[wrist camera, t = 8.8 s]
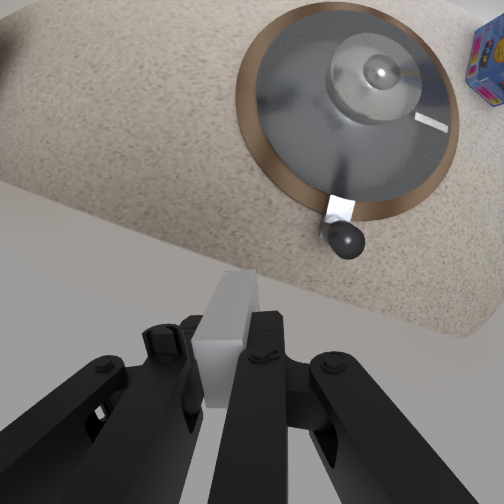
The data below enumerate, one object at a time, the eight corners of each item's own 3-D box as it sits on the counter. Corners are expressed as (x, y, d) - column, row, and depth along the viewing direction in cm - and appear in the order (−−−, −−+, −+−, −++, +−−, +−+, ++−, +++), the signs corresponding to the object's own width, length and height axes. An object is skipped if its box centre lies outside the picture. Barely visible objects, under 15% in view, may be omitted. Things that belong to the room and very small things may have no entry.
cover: (318, 111, 25) (327, 99, 20) (332, 39, 23) (342, 16, 18) (397, 136, 25) (420, 131, 20) (408, 65, 23) (429, 49, 18)
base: (214, 190, 30) (213, 190, 29) (262, -14, 24) (262, -17, 23) (432, 243, 30) (435, 244, 29) (460, 51, 23) (464, 49, 23)
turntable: (228, 218, 29) (216, 231, 23) (277, -3, 23) (278, -37, 17) (415, 261, 29) (445, 282, 23) (451, 54, 23) (481, 37, 17)
